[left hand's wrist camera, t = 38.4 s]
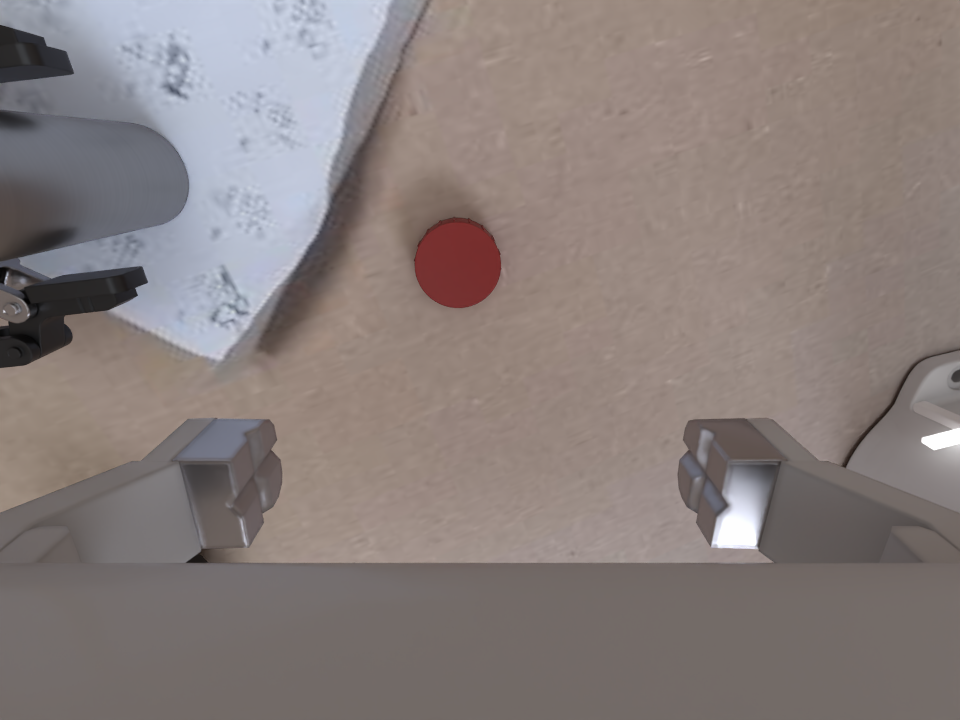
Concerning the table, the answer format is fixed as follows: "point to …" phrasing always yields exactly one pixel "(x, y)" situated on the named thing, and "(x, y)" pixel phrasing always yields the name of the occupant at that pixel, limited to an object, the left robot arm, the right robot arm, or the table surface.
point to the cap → (457, 263)
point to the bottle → (82, 181)
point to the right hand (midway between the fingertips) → (97, 176)
